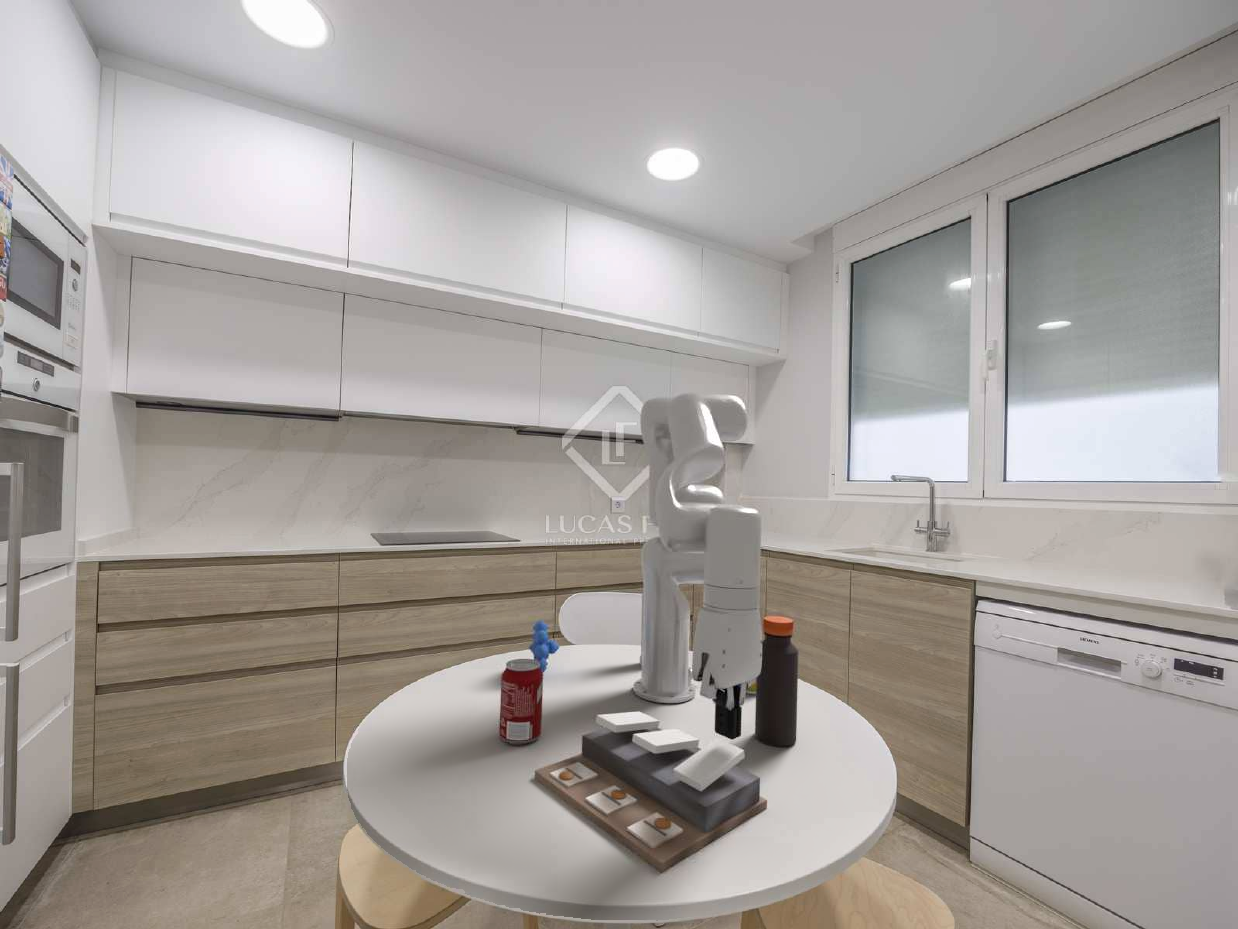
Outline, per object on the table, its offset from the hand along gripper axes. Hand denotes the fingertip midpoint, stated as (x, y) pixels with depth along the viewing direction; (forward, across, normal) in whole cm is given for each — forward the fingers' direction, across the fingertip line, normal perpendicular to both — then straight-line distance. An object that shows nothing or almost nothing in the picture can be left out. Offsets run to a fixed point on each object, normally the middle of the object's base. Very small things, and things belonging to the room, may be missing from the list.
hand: (727, 734), depth 76 cm
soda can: (+9, +12, -33) cm, 36 cm away
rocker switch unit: (+9, +7, -8) cm, 14 cm away
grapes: (+9, -8, -56) cm, 57 cm away
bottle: (+9, -32, -47) cm, 57 cm away
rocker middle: (+3, +3, -8) cm, 9 cm away
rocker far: (+3, +3, -16) cm, 17 cm away
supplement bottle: (+9, -38, -23) cm, 45 cm away
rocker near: (+3, +3, 0) cm, 5 cm away
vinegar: (+9, -22, -7) cm, 25 cm away
